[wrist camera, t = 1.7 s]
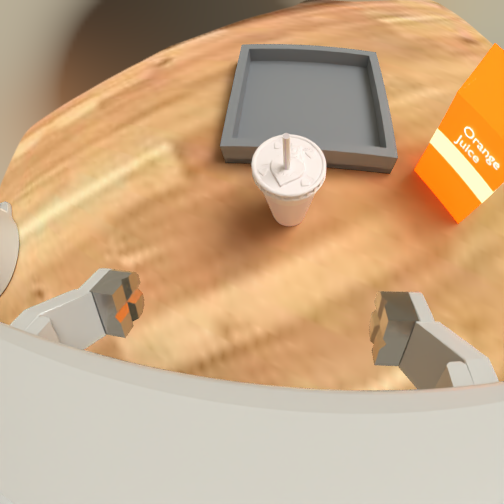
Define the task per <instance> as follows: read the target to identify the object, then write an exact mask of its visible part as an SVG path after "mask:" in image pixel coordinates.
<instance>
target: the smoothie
mask: <svg viewBox="0 0 504 504" xmlns="http://www.w3.org/2000/svg"><path fill="white" fill-rule="evenodd" d="M252 176H253V179H254V181H255V184H256V185H257V186H258V188H259V189H260V190H261V191H262V192H263V193H264V196H265V198H266V200H267V203H268V205H269V207H270V210H271V212H272V214H273V217H274V218H275V220H276V221H277V222H278V223H279V224H281V225H283V226H295V225H297V224H299V223H300V222H302V220H303V219H304V217H305V215H306V213H307V211H308V208H309V206H310V204H311V201H312V199H313V197H314V194H315V193H316V192H317V191H318V189H319V188H320V187H321V186H322V184H323V182H324V180H325V176H326V160H325V156H324V154H323V152H322V151H321V149H320V148H319V147H318V146H317V145H316V144H315V143H314V142H312V141H311V140H309V139H307V138H305V137H302V136H298V135H292V134H288V133H284V134H283V135H278V136H275V137H272V138H270V139H268V140H266V141H265V142H263V143H262V144H261V145H260V146H259V147H258V148H257V150H256V151H255V153H254V155H253V158H252Z"/></svg>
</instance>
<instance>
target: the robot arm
mask: <svg viewBox="0 0 504 504" xmlns="http://www.w3.org/2000/svg"><path fill="white" fill-rule="evenodd" d="M18 250H19V234H18V229H17V226H16V223H15V221H14V220H13V218H12V209H11V204H10V203H8V202H2V203H0V295H1V294H2V293H3V291H4V290H5V288H6V287H7V285H8V283H9V281H10V279H11V277H12V274H13V272H14V269H15V265H16V261H17V257H18ZM139 285H140V279H139V276H138V274H137V273H136V272H131V271H123V270H115V269H108V268H100V269H98V270H97V271H96V272H95V273H94V274H93V275H92V276H91V277H90V278H89V279H88V280H87V281H86V282H85V283H84V284H83V285H82V286H81V287H80V288H79V289H78V290H75V289H74V290H72V291H69V292H67V293H64V294H62V295H59V296H57V297H54V298H52V299H50V300H47V301H45V302H42V303H40V304H38V305H35V306H33V307H30V308H28V309H26V310H24V311H23V312H22V313H21V314H20V315H19V316H18V317H17V318H16V319H15V320H14V321H13V322H12V323H11V324H10V325H7V324H5V323H2V322H0V504H504V381H501V382H499V380H498V378H497V376H496V373H495V371H494V369H493V367H492V365H491V362H490V360H489V358H487V357H486V356H485V355H483V354H482V353H481V352H479V351H478V350H477V349H475V348H474V347H473V346H471V345H470V344H469V343H467V342H466V341H465V340H463V339H462V338H461V337H459V336H458V335H457V334H455V333H454V332H452V331H451V330H450V329H448V328H447V327H446V326H444V325H443V324H441V323H440V322H435V320H434V318H433V316H432V313H431V311H430V309H429V307H428V305H427V302H426V300H425V298H424V296H423V294H422V293H421V292H384V291H378V292H377V294H376V298H375V307H376V310H375V311H374V312H372V314H371V319H370V326H369V336H370V341H371V342H372V343H373V344H374V345H373V348H372V354H373V360H374V365H384V366H399V368H400V369H401V370H402V371H403V373H404V374H405V375H406V376H407V377H408V378H409V380H410V381H411V382H412V383H413V384H414V385H415V387H416V388H417V389H416V390H377V391H371V390H329V389H310V388H296V387H283V386H273V385H263V384H254V383H245V382H237V381H230V380H222V379H215V378H209V377H203V376H196V375H191V374H185V373H179V372H174V371H169V370H164V369H159V368H154V367H149V366H145V365H140V364H136V363H132V362H127V361H123V360H119V359H115V358H111V357H107V356H103V355H100V354H96V353H92V352H89V351H85V350H84V349H86V348H87V347H89V346H90V345H92V344H93V343H95V342H96V341H98V340H99V339H101V338H102V337H104V336H105V335H106V334H108V335H113V336H118V337H124V338H126V336H127V335H128V333H129V332H130V330H131V329H132V327H133V322H132V321H134V320H136V319H138V318H139V317H140V316H141V314H142V312H143V308H144V297H143V293H142V292H141V291H140V290H139V288H138V286H139Z"/></svg>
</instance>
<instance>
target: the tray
mask: <svg viewBox="0 0 504 504" xmlns="http://www.w3.org/2000/svg"><path fill="white" fill-rule="evenodd" d="M284 133H288V134H292V135H298V136H302V137H305V138H307V139H309V140H311V141H312V142H314V143H315V144H316V145H317V146H318V147H319V148H320V149H321V151H322V152H323V154H324V156H325V160H326V167H327V168H339V169H351V170H361V171H370V172H379V173H388V174H390V173H391V171H392V169H393V167H394V165H395V163H396V161H397V159H398V156H397V149H396V143H395V137H394V131H393V125H392V120H391V115H390V110H389V105H388V100H387V96H386V91H385V87H384V82H383V78H382V74H381V70H380V66H379V62H378V59H377V55H376V52H369V51H362V50H354V49H346V48H336V47H325V46H310V45H287V44H250V45H242V47H241V51H240V55H239V60H238V64H237V68H236V73H235V77H234V82H233V86H232V91H231V95H230V100H229V105H228V109H227V114H226V119H225V124H224V129H223V134H222V139H221V144H220V148H221V151H222V154H223V157H224V160H225V163H252V158H253V155H254V153H255V151H256V150H257V148H258V147H259V146H260V145H261V144H262V143H263V142H265V141H266V140H268V139H270V138H272V137H275V136H278V135H283V134H284Z"/></svg>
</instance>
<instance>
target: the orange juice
mask: <svg viewBox="0 0 504 504" xmlns="http://www.w3.org/2000/svg"><path fill="white" fill-rule="evenodd" d="M414 171H415V172H416V173H417V174H418V175H419V176H420V178H421V179H422V180H423V181H424V182H425V183H426V184H427V186H428V187H429V188H430V189H431V190H432V192H433V193H434V194H435V195H436V196H437V198H438V199H439V200H440V201H441V203H442V204H443V205H444V206H445V208H446V209H447V210H448V211H449V213H450V214H451V215H452V217H453V218H454V219H455V220H456V222H457V223H458V224H459V223H460V222H461V221H462V220H463V219H464V218H465V217H467V216H468V215H469V214H470V213H471V212H472V211H473V210H474V209H476V208H477V207H478V206H479V205H480V204H481V203H483V202H484V201H485V200H486V199H487V198H488V197H489V196H490V195H491V194H492V193H493V192H494V191H495V190H496V189H497V188H498V187H499V186H500V185H501V184H502V183H503V182H504V50H503V49H501V48H500V47H499V46H498V45H497V44H496V43H495V44H494V45H493V46H492V48H491V49H490V50H489V52H488V53H487V54H486V56H485V57H484V58H483V60H482V61H481V62H480V64H479V65H478V66H477V68H476V69H475V70H474V71H473V73H472V74H471V75H470V77H469V78H468V79H467V81H466V82H465V83H464V84H463V86H462V87H461V88H460V89H459V90H458V92H457V94H456V96H455V98H454V100H453V102H452V104H451V105H450V107H449V109H448V111H447V113H446V115H445V117H444V118H443V120H442V122H441V124H440V126H439V128H437V130H436V132H435V134H434V135H433V137H432V139H431V141H430V143H429V145H428V147H427V149H426V150H425V152H424V154H423V155H422V157H421V159H420V161H419V162H418V164H417V166H416V167H415V169H414Z"/></svg>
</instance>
